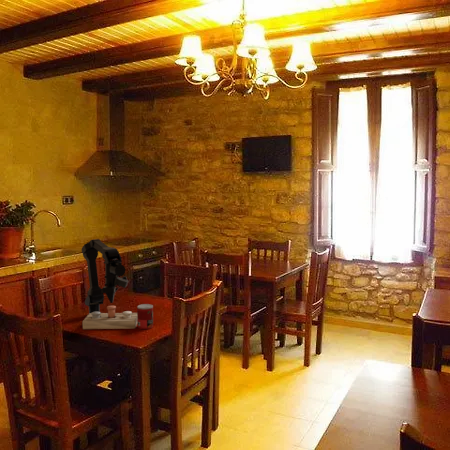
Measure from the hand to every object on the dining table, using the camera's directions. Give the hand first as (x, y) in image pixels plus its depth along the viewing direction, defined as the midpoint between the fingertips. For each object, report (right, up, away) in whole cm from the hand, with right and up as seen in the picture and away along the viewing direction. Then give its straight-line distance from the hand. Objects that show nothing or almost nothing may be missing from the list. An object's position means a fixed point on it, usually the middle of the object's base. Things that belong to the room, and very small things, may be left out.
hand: (111, 302), depth 234 cm
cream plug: (+8, -11, +1) cm, 13 cm away
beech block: (0, -11, +1) cm, 11 cm away
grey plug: (-8, -11, +1) cm, 14 cm away
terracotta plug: (0, -8, +1) cm, 8 cm away
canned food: (+18, -12, -3) cm, 22 cm away
